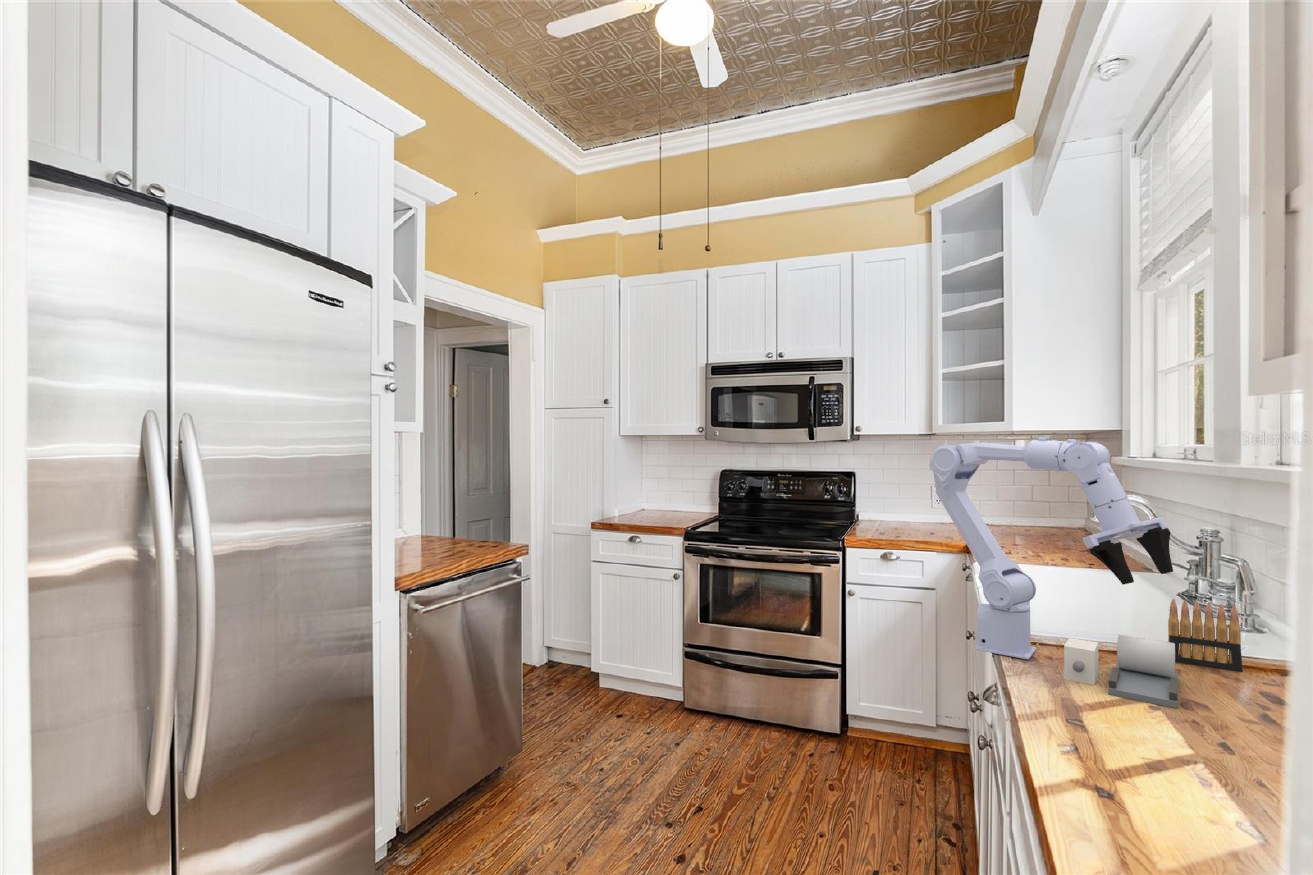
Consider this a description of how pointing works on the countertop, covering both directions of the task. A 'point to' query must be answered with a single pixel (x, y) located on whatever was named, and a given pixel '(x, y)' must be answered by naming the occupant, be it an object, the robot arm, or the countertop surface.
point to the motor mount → (1145, 671)
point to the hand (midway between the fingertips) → (1148, 578)
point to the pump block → (1081, 661)
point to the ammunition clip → (1205, 638)
